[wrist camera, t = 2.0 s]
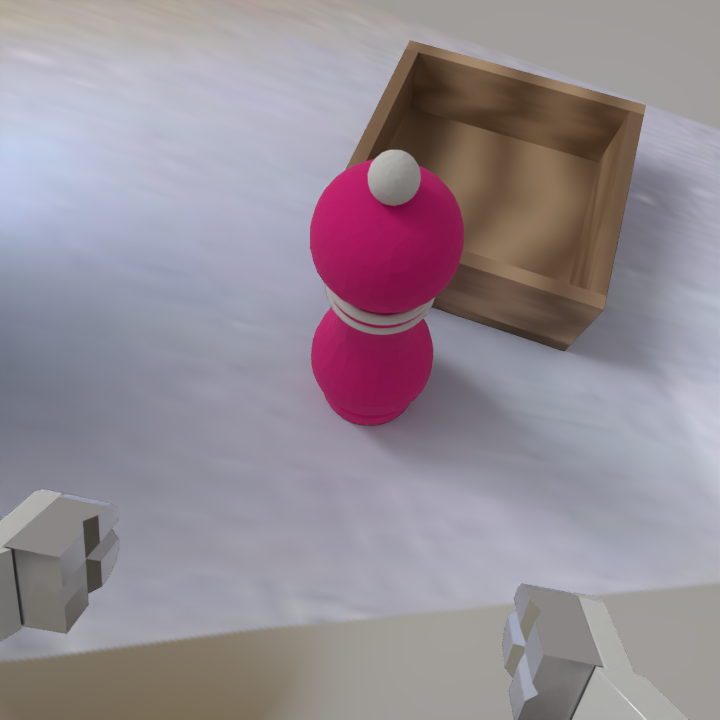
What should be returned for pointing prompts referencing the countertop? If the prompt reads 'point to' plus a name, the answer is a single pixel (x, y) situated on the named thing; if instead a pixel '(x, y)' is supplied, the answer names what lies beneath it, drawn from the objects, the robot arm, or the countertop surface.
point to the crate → (516, 184)
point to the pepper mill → (381, 282)
